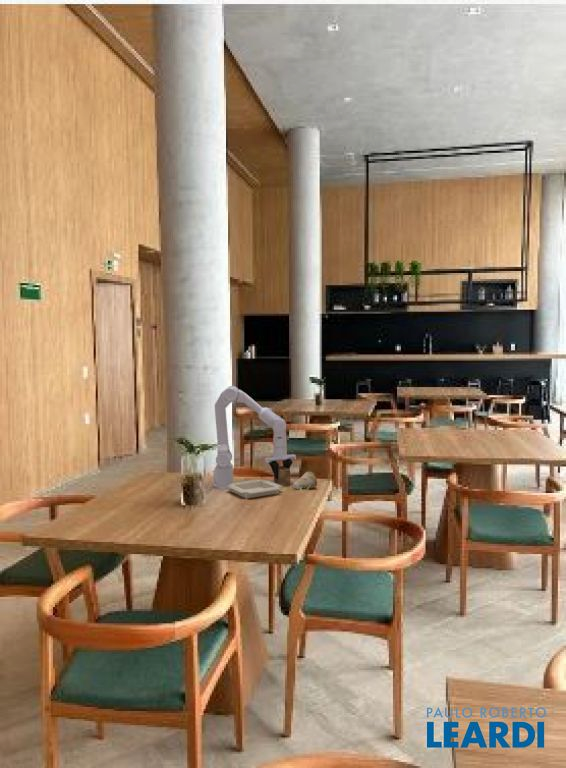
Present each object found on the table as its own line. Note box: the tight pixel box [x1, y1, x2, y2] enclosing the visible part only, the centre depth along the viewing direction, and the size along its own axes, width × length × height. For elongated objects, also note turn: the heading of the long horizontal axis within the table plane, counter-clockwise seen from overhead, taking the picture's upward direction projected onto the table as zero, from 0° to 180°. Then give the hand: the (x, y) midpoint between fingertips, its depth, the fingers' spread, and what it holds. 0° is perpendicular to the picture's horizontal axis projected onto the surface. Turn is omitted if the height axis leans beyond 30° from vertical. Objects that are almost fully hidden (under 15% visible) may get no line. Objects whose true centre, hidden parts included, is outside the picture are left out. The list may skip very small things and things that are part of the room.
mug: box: [293, 471, 318, 492], centre depth 256 cm, size 8×10×10 cm
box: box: [273, 465, 291, 488], centre depth 263 cm, size 4×8×7 cm, turn 26°
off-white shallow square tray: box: [226, 478, 284, 500], centre depth 251 cm, size 21×19×3 cm
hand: (281, 477), depth 264 cm, fingers closed on box, 4 cm apart
